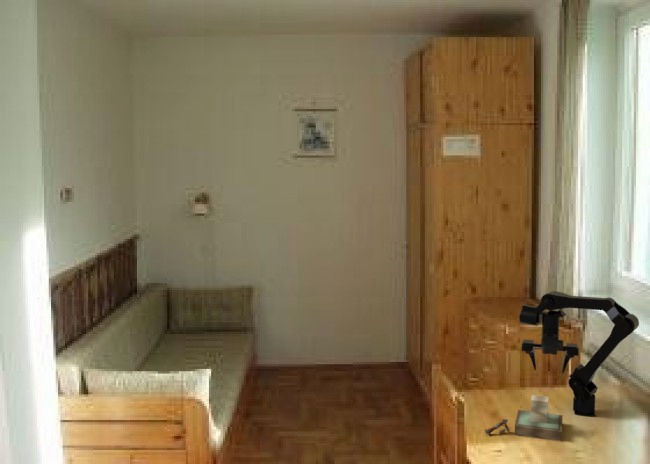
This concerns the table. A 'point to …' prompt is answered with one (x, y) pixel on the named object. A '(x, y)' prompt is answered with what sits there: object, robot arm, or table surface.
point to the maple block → (539, 409)
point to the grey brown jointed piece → (498, 427)
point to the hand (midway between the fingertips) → (548, 371)
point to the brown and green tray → (538, 426)
